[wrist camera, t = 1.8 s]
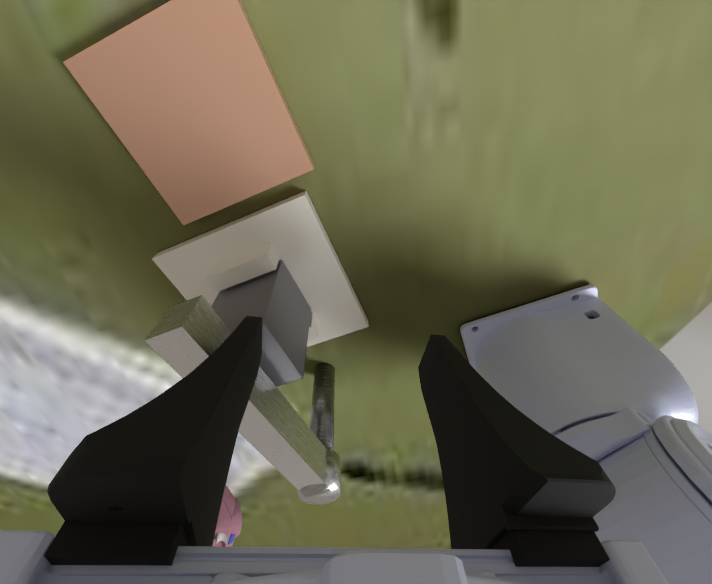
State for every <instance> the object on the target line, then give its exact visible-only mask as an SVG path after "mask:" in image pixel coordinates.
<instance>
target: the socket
mask: <svg viewBox="0 0 712 584" xmlns="http://www.w3.org/2000/svg"><path fill="white" fill-rule="evenodd" d="M152 260H153V261H154V262H155V263H156V265H157V266H158V267H159V268H160V269H161V270H162V272H163V273H164V274H165V275H166V276H167V278H168V279H169V280H170V281H171V282H172V283H173V285H174V286H175V287H176V288H177V289H178V291H179V292H180V293H181V294H182V295H183V296H184V298H185V299H186V300H190V299H192V298H195V297H198V296H200V295H202V296H203V297H204V298H205V299H206V300H207V302H208V303H209V304H210V305H211V306H212V304H213V302H214V301H215V299H216V297H217V295H218V293H219V292H220V291H221V290H223V289H226V288H229V287H231V286H234V285H236V284H239V283H242V282H244V281H247V280H250V279H252V278H255V277H257V276H260V275H263V274H265V273H268V272H270V271H273V270H276V267H277V264H278V261H280V260H283V262H284V264H285V265H286V267H287V269H288V270H289V272H290V274H291V275H292V277H293V279H294V281H295V282H296V284H297V286H298V287H299V289H300V291H301V292H302V294H303V296H304V297H305V299H306V301H307V303H308V304H309V306H310V308H311V315H310V323H309V332H308V340H307V347H309V346H312V345H315V344H318V343H321V342H324V341H327V340H330V339H333V338H336V337H339V336H342V335H345V334H348V333H351V332H354V331H357V330H360V329H363V328H366V327H369V325H368V319H367V317H366V315H365V313H364V311H363V309H362V306H361V304H360V302H359V300H358V298H357V296H356V294H355V292H354V290H353V288H352V286H351V283H350V281H349V279H348V277H347V275H346V273H345V271H344V269H343V267H342V265H341V263H340V260H339V258H338V256H337V254H336V252H335V250H334V248H333V246H332V244H331V242H330V240H329V237H328V235H327V233H326V231H325V229H324V227H323V225H322V223H321V221H320V219H319V217H318V214H317V212H316V210H315V208H314V206H313V204H312V202H311V200H310V198H309V196H308V194H307V191H304V192H301V193H299V194H297V195H294V196H292V197H289V198H287V199H285V200H282V201H280V202H278V203H275V204H273V205H270V206H268V207H266V208H263V209H261V210H259V211H256V212H254V213H251V214H249V215H247V216H244V217H242V218H239V219H237V220H235V221H232V222H230V223H228V224H225V225H223V226H220V227H218V228H216V229H213V230H211V231H208V232H206V233H204V234H201V235H199V236H197V237H194V238H192V239H189V240H187V241H185V242H182V243H180V244H178V245H175V246H173V247H170V248H168V249H166V250H163V251H161V252H158V253H157V254H156V255H155V256H154V257H153V258H152ZM334 382H335V369H334V367H333V366H332V365H330V364H326V363H324V364H319V365H318V366H316V368H315V372H314V385H313V397H312V410H311V422H310V429H311V431H312V432H313V433H314V434H315V435H316V437H317V438H318V439H319V440H320V442H321V443H322V444H323V445H324V447H325V448H326V449H329V450H332V451H334Z"/></svg>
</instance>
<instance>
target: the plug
mask: <svg viewBox="0 0 712 584" xmlns="http://www.w3.org/2000/svg"><path fill="white" fill-rule="evenodd" d="M211 307H212V308H213V309H214V310H215V312H216V313H217V314H218V315H219V317H220V318H221V319H222V320H223V322H224V323H225V324H226V325H227V326H228V328H229V329H230V330H231V331H232V332H233V331H234V330H235V329H236V327H237V326H238V325H239V324H240V323H241V321H242V320H243V319H244V318H245V317H246V316H254V317H262V356H261V360H260V365H259V366H260V367H261V369H262V370H263V371H264V372H265V374H266V375H267V376H268V377H269V379H270V380H271V381H272V382H273V383H274V385H275V386H276V387H277V386H280V385H283V384H286V383H289V382H293V381H296V380H299V379H302V378H303V374H304V366H305V357H306V349H307V340H308V332H309V323H310V315H311V308H310V306H309V304H308V303H307V301H306V299H305V297H304V296H303V294H302V292H301V291H300V289H299V287H298V286H297V284H296V282H295V281H294V279H293V277H292V275H291V274H290V272H289V270H288V269H287V267H286V265H285V264H284V262H283V260H280V261H278V264H277V267H276V270H273V271H270V272H268V273H265V274H263V275H260V276H257V277H255V278H252V279H250V280H247V281H244V282H242V283H239V284H236V285H234V286H231V287H229V288H226V289H223V290H221V291H220V292H219V293H218V295H217V297H216V299H215V301H214V302H213V304H212V306H211Z"/></svg>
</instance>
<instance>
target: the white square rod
mask: <svg viewBox="0 0 712 584" xmlns="http://www.w3.org/2000/svg"><path fill="white" fill-rule="evenodd" d="M231 333H232V331H231V330H230V329H229V328H228V326H227V325H226V324H225V323H224V322H223V320H222V319H221V318H220V317H219V315H218V314H217V313H216V312H215V310H214V309H213V308H212V307H211V305H210V304H209V303H208V302H207V300H206V299H205V298H204V297H203V296H202V295H200V296H198V297H195V298H192V299H190V300H187V301H185V302H182V303H179V304H177V305H174V306H172V307H169V308H168V309H167V311H166V312H165V313H164V315H163V316H162V317H161V319H160V320H159V321H158V323H157V324H156V326H155V327H154V328H153V330H152V331H151V332H150V334H149V335H148V336H147V338H146V339H145V340H144V341H145V342H146V343H147V344H148V345H149V346H150V347H152V348H153V349H154V350H155V351H156V352H157V353H158V354H159V355H160V356H161V357H162V358H163V359H164V360H165V361H166V362H167V363H168V364H169V365H170V366H171V367H172V368H173V369H174V370H175V371H176V372H177V373H178V374H179V375H180V376H181V377H182V378H184V377H185V376H187V375H188V374H189V373H190V372H192V371H193V370H194V369H195V368H196V367H198V366H199V365H200V364H201V363H202V362H203V361H204V360H205V359H206V358H208V357H209V356H210V355H211V354H212V353H213V352H214V351H215V350H216V349H217V348H218V347H219V346H220V345H221V344H222V343H223V342H224V341H225V340H226V339H227V338H228V336H229V335H230V334H231ZM238 432H239V433H240V434H241V435H242V436H243V437H244V438H245V439H246V440H247V441H248V442H249V443H250V444H252V445H253V446H254V447H255V448H256V449H257V450H258V451H259V452H260V453H261V454H262V455H263V456H264V457H265V458H266V459H267V460H268V461H269V462H270V463H271V464H272V465H273V466H274V467H275V468H276V469H277V470H278V471H279V472H280V473H281V474H282V475H283V476H284V477H286V478H287V479H288V480H289V481H290V482H291V483H292V484H293V485H294V486H295V487H296V488H297V489H298V497H299V499H300V500H302V501H304V502H306V503H309V504H327V503H331V502H333V501H335V500H337V499H338V498H339V496H340V457H339V455H338V454H337V453H336V452H334V451H332V450H329V449H326V448H325V447H324V445H323V444H322V443H321V442H320V440H319V439H318V438H317V437H316V435H315V434H314V433H313V432H312V431H311V429H310V428H309V427H308V426H307V424H306V423H305V422H304V421H303V419H302V418H301V417H300V416H299V414H298V413H297V412H296V411H295V409H294V408H293V407H292V406H291V405H290V403H289V402H288V401H287V400H286V398H285V397H284V396H283V395H282V393H281V392H280V391H279V390H278V388H277V387H276V386H275V385H274V383H273V382H272V381H271V380H270V379H269V377H268V376H267V375H266V374H265V372H264V371H263V370H262V369H261V367H260V366H259V370H258V374H257V378H256V381H255V384H254V387H253V390H252V392H251V395H250V398H249V401H248V404H247V407H246V410H245V413H244V416H243V418H242V421H241V424H240V427H239V431H238Z"/></svg>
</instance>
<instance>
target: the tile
mask: <svg viewBox="0 0 712 584" xmlns="http://www.w3.org/2000/svg"><path fill="white" fill-rule="evenodd" d="M63 63H64V64H65V66H66V67H67V68H68V70H69V71H70V73H71V74H72V75H73V77H74V78H75V79H76V81H77V82H78V83H79V85H80V86H81V87H82V89H83V90H84V91H85V93H86V94H87V96H88V97H89V98H90V100H91V101H92V102H93V104H94V105H95V106H96V108H97V109H98V110H99V112H100V113H101V115H102V116H103V117H104V119H105V120H106V121H107V123H108V124H109V125H110V127H111V128H112V129H113V131H114V132H115V134H116V135H117V136H118V138H119V139H120V140H121V142H122V143H123V144H124V146H125V147H126V148H127V150H128V151H129V152H130V154H131V155H132V157H133V158H134V159H135V161H136V162H137V163H138V165H139V166H140V167H141V169H142V170H143V171H144V173H145V174H146V176H147V177H148V178H149V180H150V181H151V182H152V184H153V185H154V186H155V188H156V189H157V190H158V192H159V193H160V194H161V196H162V197H163V199H164V200H165V201H166V203H167V204H168V205H169V207H170V208H171V209H172V211H173V212H174V213H175V215H176V216H177V218H178V219H179V220H180V222H181V223H182V224H183V226H184V225H186V224H188V223H191V222H193V221H195V220H198V219H200V218H202V217H205V216H207V215H209V214H212V213H214V212H216V211H219V210H221V209H223V208H226V207H228V206H230V205H233V204H235V203H237V202H240V201H242V200H244V199H247V198H249V197H251V196H254V195H256V194H258V193H261V192H263V191H265V190H268V189H270V188H272V187H274V186H277V185H279V184H281V183H284V182H286V181H288V180H291V179H293V178H295V177H298V176H300V175H302V174H305V173H307V172H309V171H312V170H314V164H313V161H312V159H311V157H310V155H309V152H308V150H307V148H306V146H305V143H304V141H303V139H302V137H301V134H300V132H299V130H298V128H297V125H296V123H295V121H294V119H293V116H292V114H291V112H290V110H289V107H288V105H287V103H286V101H285V98H284V96H283V94H282V92H281V90H280V87H279V85H278V83H277V81H276V78H275V76H274V74H273V72H272V69H271V67H270V65H269V63H268V60H267V58H266V56H265V54H264V51H263V49H262V47H261V45H260V42H259V40H258V38H257V36H256V33H255V31H254V29H253V27H252V24H251V22H250V20H249V18H248V15H247V13H246V11H245V9H244V6H243V4H242V2H241V0H171V1H169V2H167V3H165V4H164V5H162V6H160V7H158V8H157V9H155V10H153V11H151V12H150V13H148V14H146V15H144V16H143V17H141V18H139V19H137V20H136V21H134V22H132V23H130V24H129V25H127V26H125V27H123V28H122V29H120V30H118V31H116V32H115V33H113V34H111V35H109V36H108V37H106V38H104V39H102V40H101V41H99V42H97V43H95V44H94V45H92V46H90V47H88V48H87V49H85V50H83V51H81V52H80V53H78V54H76V55H74V56H73V57H71V58H69V59H67V60H66V61H64V62H63Z"/></svg>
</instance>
